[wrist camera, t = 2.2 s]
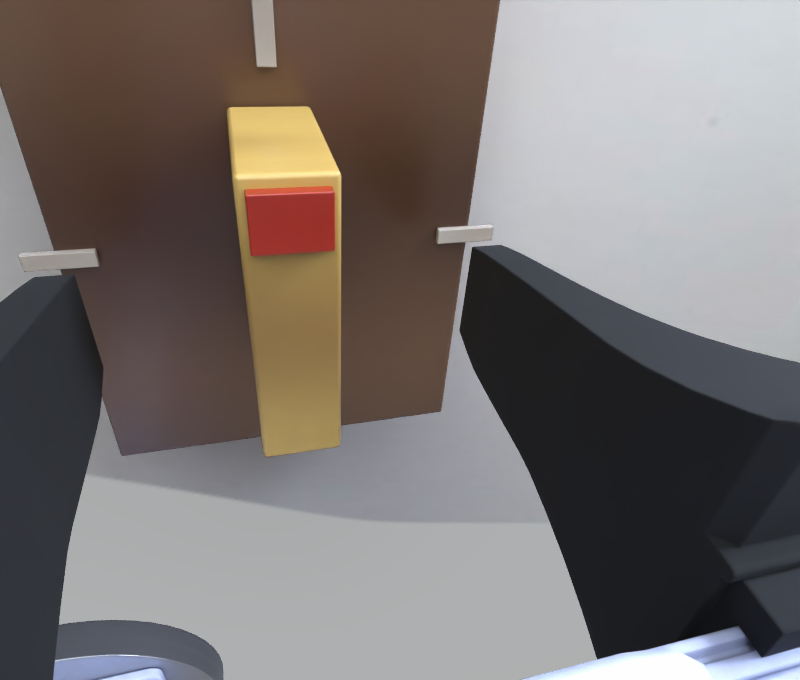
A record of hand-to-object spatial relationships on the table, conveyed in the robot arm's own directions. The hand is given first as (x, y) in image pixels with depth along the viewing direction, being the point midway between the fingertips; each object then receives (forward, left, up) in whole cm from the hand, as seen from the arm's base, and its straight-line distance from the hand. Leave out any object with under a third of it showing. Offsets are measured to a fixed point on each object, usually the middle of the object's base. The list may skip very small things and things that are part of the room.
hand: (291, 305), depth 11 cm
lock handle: (0, 0, -3) cm, 3 cm away
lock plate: (0, 0, -6) cm, 6 cm away
